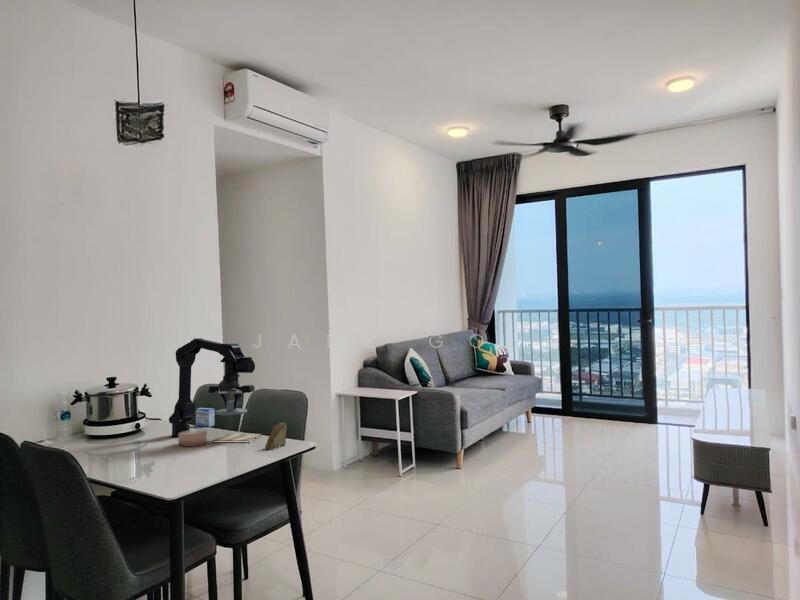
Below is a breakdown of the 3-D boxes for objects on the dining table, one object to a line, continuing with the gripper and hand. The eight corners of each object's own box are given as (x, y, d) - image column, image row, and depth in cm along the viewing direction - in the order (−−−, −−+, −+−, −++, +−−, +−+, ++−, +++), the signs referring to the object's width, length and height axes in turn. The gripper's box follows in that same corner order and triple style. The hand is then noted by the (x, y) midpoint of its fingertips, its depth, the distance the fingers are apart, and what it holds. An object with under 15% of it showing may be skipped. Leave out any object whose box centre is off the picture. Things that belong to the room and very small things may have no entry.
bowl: (173, 447, 218) (173, 434, 218) (186, 441, 229) (186, 429, 229) (199, 447, 217) (199, 434, 217) (211, 441, 228) (211, 429, 228)
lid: (210, 415, 225) (210, 403, 226) (223, 410, 238) (223, 399, 239) (240, 415, 224) (240, 403, 224) (251, 410, 237) (251, 399, 237)
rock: (268, 445, 208) (292, 439, 214) (261, 426, 212) (285, 420, 218) (262, 458, 216) (286, 451, 221) (256, 439, 220) (279, 433, 225)
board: (213, 442, 226) (213, 440, 226) (226, 435, 240) (226, 433, 240) (249, 442, 225) (249, 440, 225) (261, 436, 239) (261, 433, 239)
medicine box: (195, 426, 265) (195, 408, 265) (201, 424, 269) (201, 407, 269) (209, 427, 262) (209, 409, 263) (214, 425, 267) (214, 407, 267)
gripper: (202, 374, 225) (202, 412, 224) (245, 374, 223) (245, 411, 222) (214, 372, 236) (213, 408, 235) (255, 372, 234) (255, 408, 234)
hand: (231, 409), depth 231 cm, fingers closed on lid, 3 cm apart
